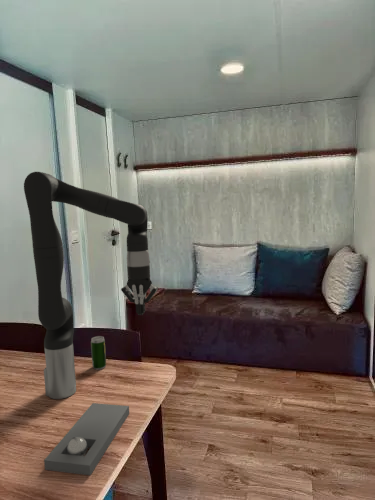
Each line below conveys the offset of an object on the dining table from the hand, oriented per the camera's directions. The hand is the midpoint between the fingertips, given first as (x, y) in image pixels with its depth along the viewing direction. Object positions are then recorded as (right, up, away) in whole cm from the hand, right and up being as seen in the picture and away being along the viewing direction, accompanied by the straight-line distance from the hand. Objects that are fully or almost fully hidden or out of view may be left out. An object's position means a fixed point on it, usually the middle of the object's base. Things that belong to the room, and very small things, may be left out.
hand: (140, 314), depth 121 cm
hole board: (-11, -30, -23) cm, 39 cm away
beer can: (-20, -26, +22) cm, 39 cm away
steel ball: (-12, -29, -31) cm, 44 cm away
